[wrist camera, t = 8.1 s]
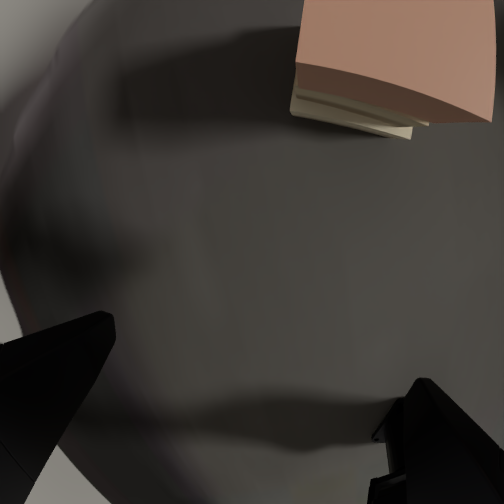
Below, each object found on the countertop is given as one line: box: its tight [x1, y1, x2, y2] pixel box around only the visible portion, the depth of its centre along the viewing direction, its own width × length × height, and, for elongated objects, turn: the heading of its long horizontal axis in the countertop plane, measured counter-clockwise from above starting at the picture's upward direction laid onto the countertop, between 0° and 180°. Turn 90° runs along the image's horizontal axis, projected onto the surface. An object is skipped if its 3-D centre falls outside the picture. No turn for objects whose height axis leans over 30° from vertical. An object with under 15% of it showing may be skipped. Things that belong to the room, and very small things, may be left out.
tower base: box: [290, 70, 413, 140], centre depth 14 cm, size 6×6×4 cm
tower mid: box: [294, 73, 429, 127], centre depth 10 cm, size 5×5×4 cm
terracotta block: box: [295, 0, 496, 123], centre depth 6 cm, size 5×5×4 cm
